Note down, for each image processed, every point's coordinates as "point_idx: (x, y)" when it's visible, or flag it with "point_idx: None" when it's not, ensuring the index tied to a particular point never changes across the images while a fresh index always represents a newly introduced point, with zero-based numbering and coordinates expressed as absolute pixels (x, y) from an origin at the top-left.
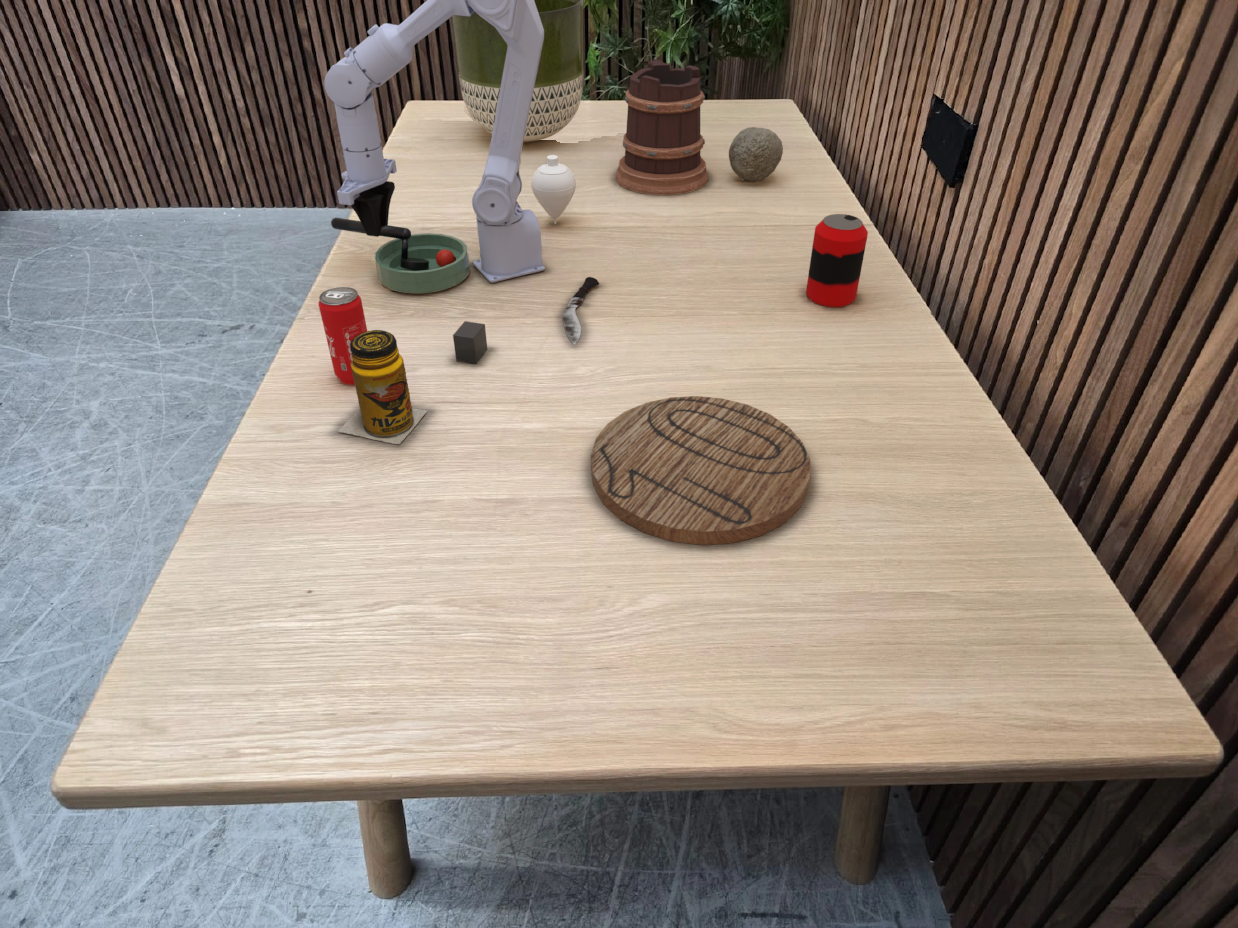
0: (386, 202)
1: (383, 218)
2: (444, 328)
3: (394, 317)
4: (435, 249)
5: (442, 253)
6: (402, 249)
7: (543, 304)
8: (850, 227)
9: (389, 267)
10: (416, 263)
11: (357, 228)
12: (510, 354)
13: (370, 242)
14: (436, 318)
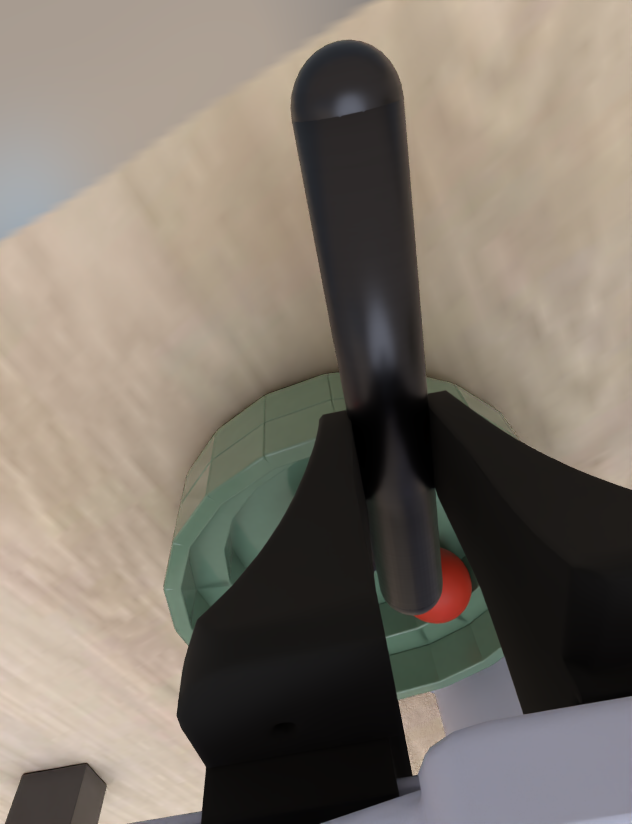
0: (504, 653)
1: (455, 516)
2: (115, 702)
3: (61, 598)
4: None
5: (424, 613)
6: None
7: None
8: None
9: (178, 584)
10: None
11: (337, 349)
12: (125, 808)
13: (607, 56)
14: (141, 669)
